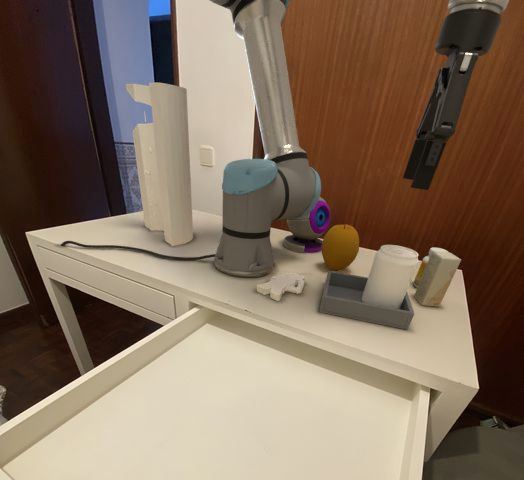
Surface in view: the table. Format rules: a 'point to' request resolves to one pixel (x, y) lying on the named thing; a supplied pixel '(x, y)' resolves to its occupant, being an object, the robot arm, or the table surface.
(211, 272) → the table surface
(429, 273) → the box
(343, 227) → the apple
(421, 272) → the supplement bottle
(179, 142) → the white tall block
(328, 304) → the tray
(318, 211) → the webcam
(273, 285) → the white abstract figurine
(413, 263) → the beverage can
